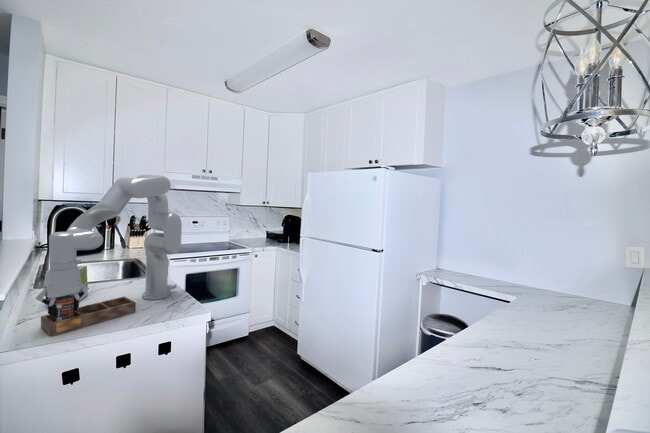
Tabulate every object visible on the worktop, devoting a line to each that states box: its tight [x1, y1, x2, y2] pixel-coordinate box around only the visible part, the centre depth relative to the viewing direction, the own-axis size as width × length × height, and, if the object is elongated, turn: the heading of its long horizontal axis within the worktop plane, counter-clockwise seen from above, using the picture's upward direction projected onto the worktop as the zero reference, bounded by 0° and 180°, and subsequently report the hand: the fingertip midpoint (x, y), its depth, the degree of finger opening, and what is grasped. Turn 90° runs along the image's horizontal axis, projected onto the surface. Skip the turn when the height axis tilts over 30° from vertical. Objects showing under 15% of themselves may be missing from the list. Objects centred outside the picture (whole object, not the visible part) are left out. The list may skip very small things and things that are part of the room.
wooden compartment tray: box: [40, 296, 137, 337], centre depth 120 cm, size 28×10×5 cm, turn 148°
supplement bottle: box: [53, 295, 74, 322], centre depth 112 cm, size 6×6×11 cm
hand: (63, 312), depth 112 cm, fingers closed on supplement bottle, 5 cm apart
